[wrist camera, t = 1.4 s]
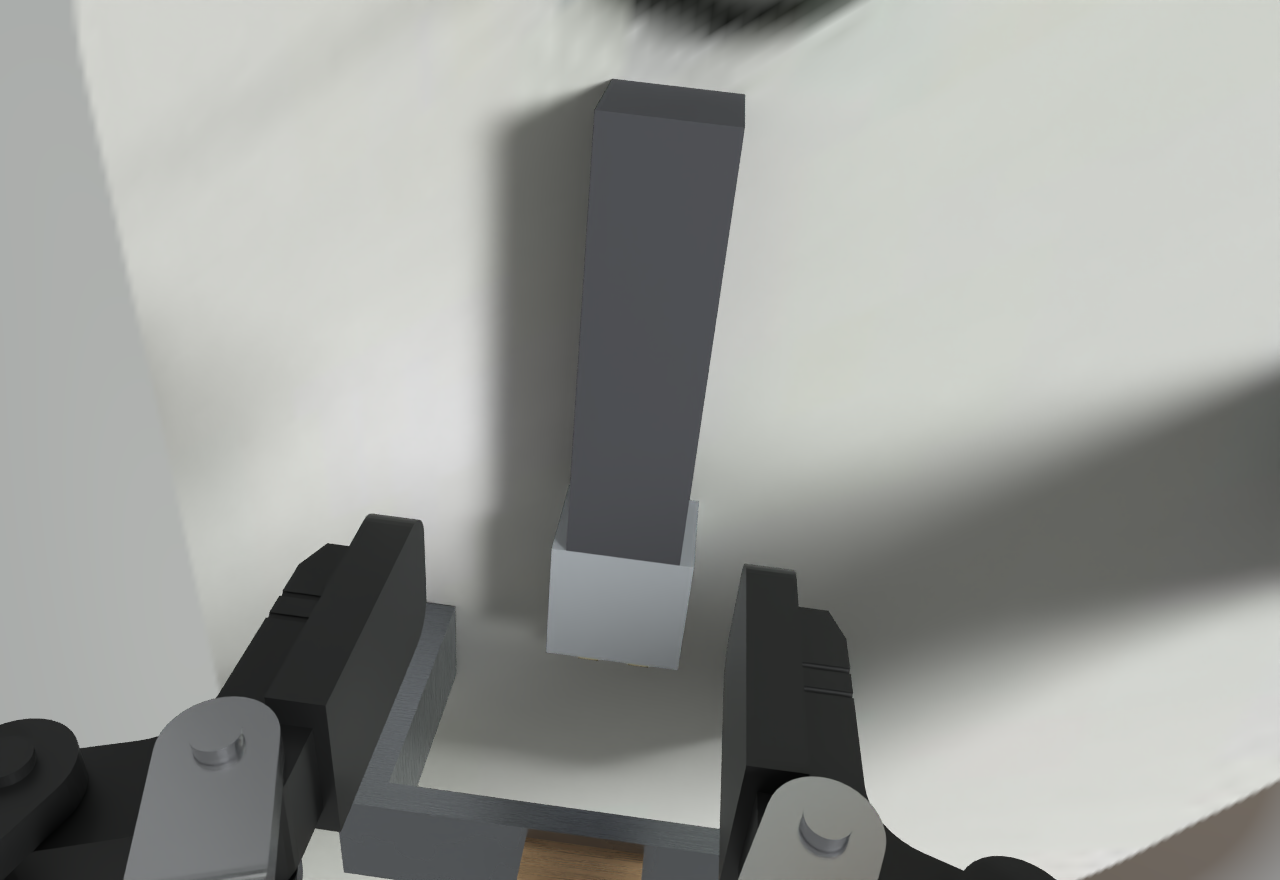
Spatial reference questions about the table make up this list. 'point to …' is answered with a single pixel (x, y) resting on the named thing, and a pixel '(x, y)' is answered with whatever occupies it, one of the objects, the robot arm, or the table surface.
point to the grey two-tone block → (643, 369)
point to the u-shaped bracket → (491, 808)
